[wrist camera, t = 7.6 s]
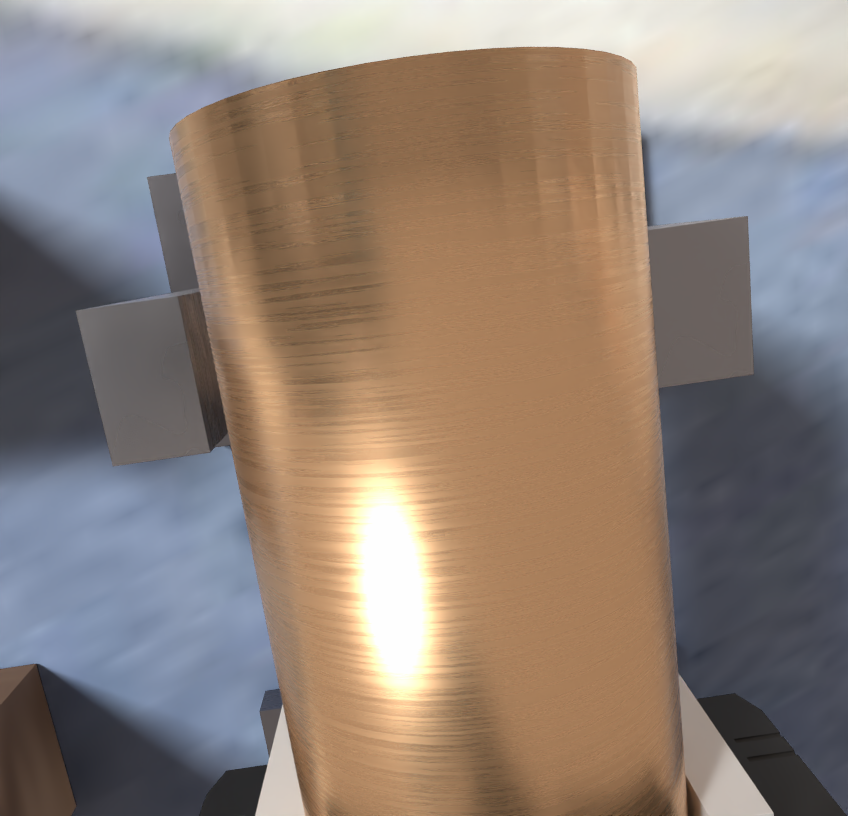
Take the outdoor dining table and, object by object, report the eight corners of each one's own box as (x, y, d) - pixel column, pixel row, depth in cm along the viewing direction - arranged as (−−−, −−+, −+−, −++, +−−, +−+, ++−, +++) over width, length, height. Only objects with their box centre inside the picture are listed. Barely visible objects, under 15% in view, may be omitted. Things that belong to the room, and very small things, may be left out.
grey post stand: (159, 181, 19) (-46, 118, 10) (615, 117, 19) (809, 1, 10) (304, 880, 23) (252, 1258, 15) (668, 825, 24) (832, 1165, 15)
